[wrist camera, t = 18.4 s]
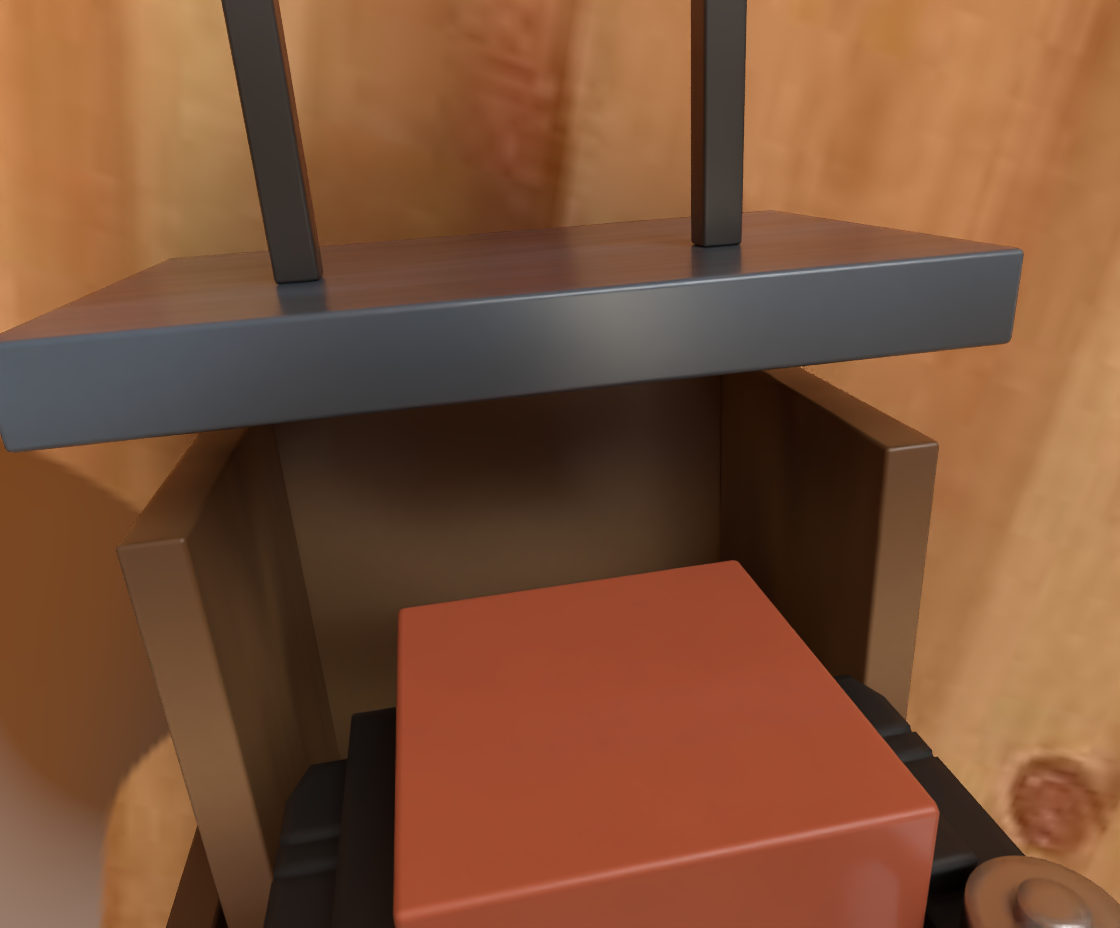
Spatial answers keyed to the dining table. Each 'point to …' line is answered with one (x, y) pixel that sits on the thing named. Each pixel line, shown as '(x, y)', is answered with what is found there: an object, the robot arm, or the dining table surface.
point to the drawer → (491, 433)
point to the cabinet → (197, 893)
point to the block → (643, 767)
